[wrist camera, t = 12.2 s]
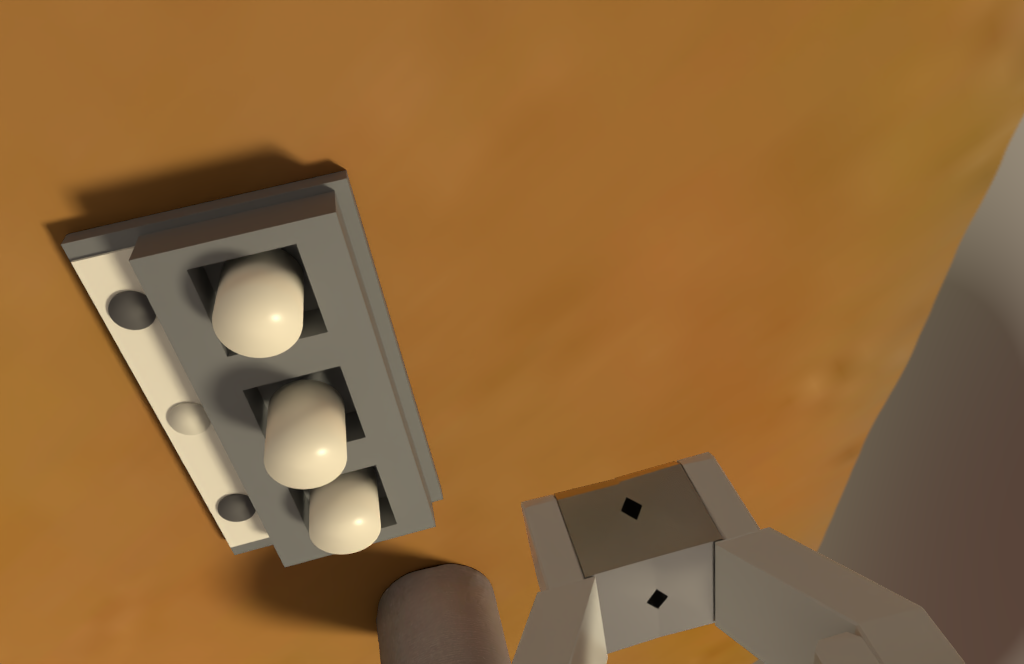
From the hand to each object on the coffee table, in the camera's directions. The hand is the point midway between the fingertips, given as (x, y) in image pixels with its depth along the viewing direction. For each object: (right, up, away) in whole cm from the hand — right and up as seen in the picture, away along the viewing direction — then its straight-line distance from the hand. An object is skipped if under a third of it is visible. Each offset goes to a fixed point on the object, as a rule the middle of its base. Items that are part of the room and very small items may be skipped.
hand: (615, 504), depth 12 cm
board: (-16, 0, +37) cm, 40 cm away
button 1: (-15, +6, +31) cm, 35 cm away
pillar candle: (-8, -19, +52) cm, 56 cm away
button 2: (-14, -2, +34) cm, 37 cm away
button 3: (-13, -7, +40) cm, 43 cm away
